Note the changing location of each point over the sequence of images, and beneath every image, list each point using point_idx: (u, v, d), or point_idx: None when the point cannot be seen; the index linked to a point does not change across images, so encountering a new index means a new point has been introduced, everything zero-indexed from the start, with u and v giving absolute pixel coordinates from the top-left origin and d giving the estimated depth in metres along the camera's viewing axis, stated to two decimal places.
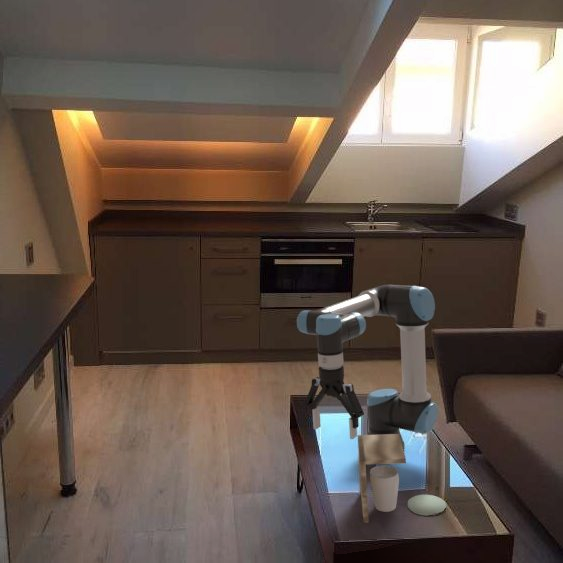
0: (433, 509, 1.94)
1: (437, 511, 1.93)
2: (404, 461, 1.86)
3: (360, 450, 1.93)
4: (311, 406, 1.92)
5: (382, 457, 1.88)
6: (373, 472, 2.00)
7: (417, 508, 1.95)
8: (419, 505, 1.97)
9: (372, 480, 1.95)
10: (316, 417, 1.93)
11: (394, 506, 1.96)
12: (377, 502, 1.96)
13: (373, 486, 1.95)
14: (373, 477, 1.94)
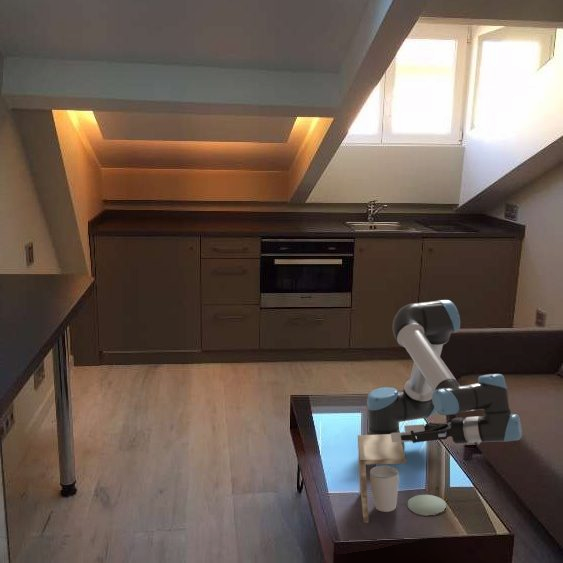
0: (433, 509, 1.94)
1: (437, 511, 1.93)
2: (404, 461, 1.86)
3: (360, 450, 1.93)
4: None
5: (382, 457, 1.88)
6: (373, 472, 2.00)
7: (417, 508, 1.95)
8: (419, 505, 1.97)
9: (372, 480, 1.95)
10: None
11: (394, 506, 1.96)
12: (377, 502, 1.96)
13: (373, 486, 1.95)
14: (373, 477, 1.94)
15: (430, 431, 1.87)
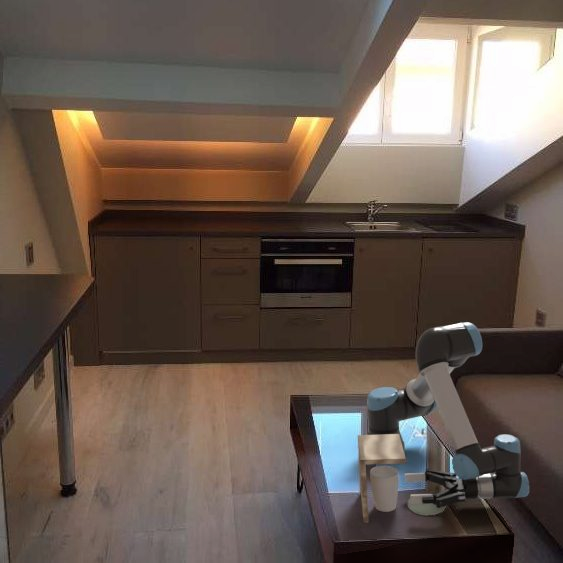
0: (433, 509, 1.94)
1: (437, 511, 1.93)
2: (404, 461, 1.86)
3: (360, 450, 1.93)
4: None
5: (382, 457, 1.88)
6: (373, 472, 2.00)
7: (417, 508, 1.95)
8: (419, 505, 1.97)
9: (372, 480, 1.95)
10: None
11: (394, 506, 1.96)
12: (377, 502, 1.96)
13: (373, 486, 1.95)
14: (373, 477, 1.94)
15: (448, 491, 1.91)
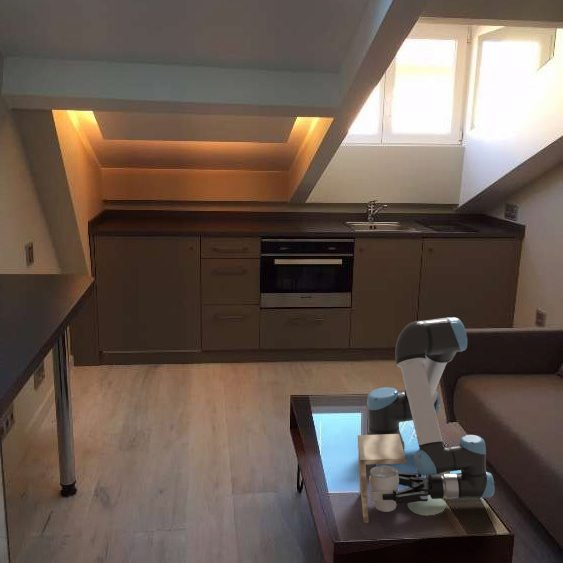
0: (433, 509, 1.94)
1: (437, 511, 1.93)
2: (404, 461, 1.86)
3: (360, 450, 1.93)
4: None
5: (382, 457, 1.88)
6: (373, 472, 2.00)
7: (417, 508, 1.95)
8: (419, 505, 1.97)
9: (372, 480, 1.95)
10: None
11: (394, 506, 1.96)
12: (377, 502, 1.96)
13: (373, 486, 1.95)
14: (373, 477, 1.94)
15: (410, 490, 1.93)
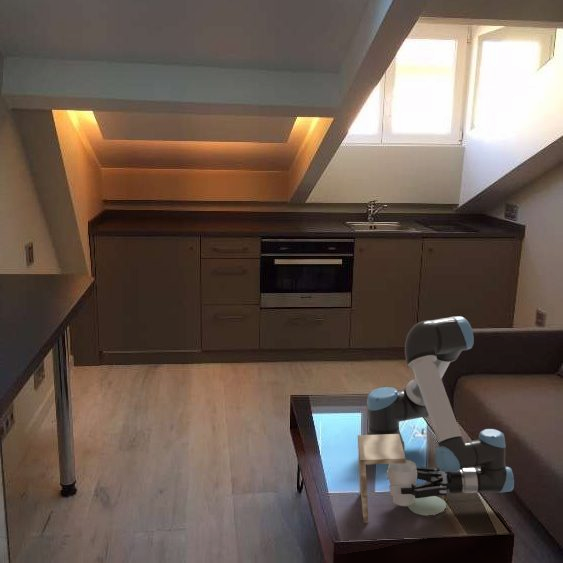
0: (433, 509, 1.94)
1: (437, 511, 1.93)
2: (404, 461, 1.86)
3: (360, 450, 1.93)
4: None
5: (382, 457, 1.88)
6: (391, 466, 1.99)
7: (417, 508, 1.95)
8: (419, 505, 1.97)
9: (390, 474, 1.94)
10: None
11: (412, 500, 1.94)
12: (395, 496, 1.94)
13: (391, 480, 1.94)
14: (391, 471, 1.93)
15: (429, 484, 1.91)
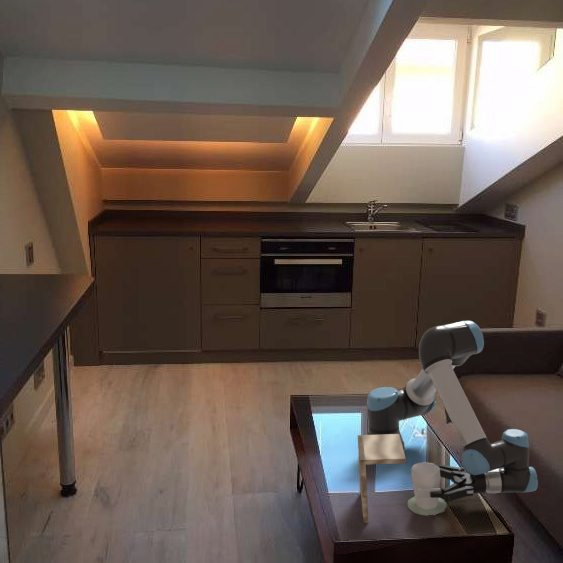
0: (433, 509, 1.94)
1: (437, 511, 1.93)
2: (404, 461, 1.86)
3: (360, 450, 1.93)
4: None
5: (382, 457, 1.88)
6: (414, 469, 1.99)
7: (417, 508, 1.95)
8: None
9: (414, 477, 1.94)
10: None
11: (436, 503, 1.95)
12: (419, 499, 1.94)
13: (415, 483, 1.94)
14: (415, 475, 1.93)
15: (456, 486, 1.90)
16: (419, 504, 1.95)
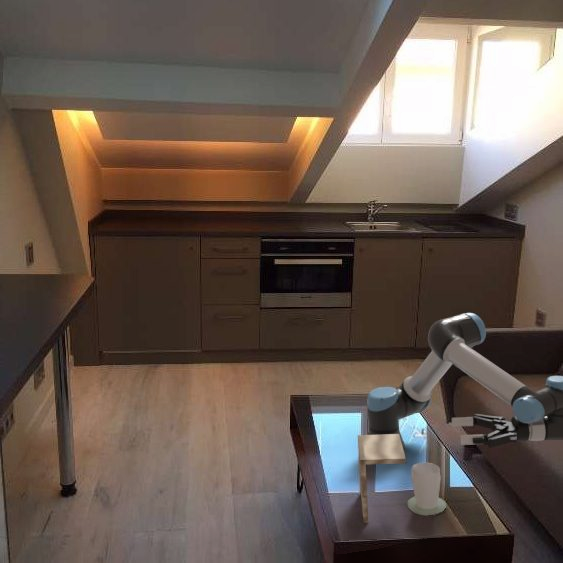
0: (433, 509, 1.94)
1: (437, 511, 1.93)
2: (404, 461, 1.86)
3: (360, 450, 1.93)
4: None
5: (382, 457, 1.88)
6: (414, 469, 1.99)
7: (417, 508, 1.95)
8: None
9: (414, 477, 1.94)
10: None
11: (436, 503, 1.95)
12: (419, 499, 1.94)
13: (415, 483, 1.94)
14: (415, 475, 1.93)
15: (498, 432, 1.87)
16: (419, 504, 1.95)
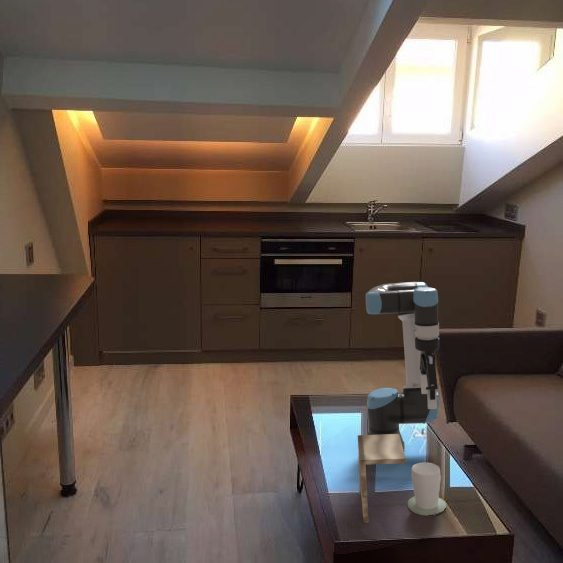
0: (433, 509, 1.94)
1: (437, 511, 1.93)
2: (404, 461, 1.86)
3: (360, 450, 1.93)
4: (420, 371, 2.06)
5: (382, 457, 1.88)
6: (414, 469, 1.99)
7: (417, 508, 1.95)
8: None
9: (414, 477, 1.94)
10: (423, 382, 2.06)
11: (436, 503, 1.95)
12: (419, 499, 1.94)
13: (415, 483, 1.94)
14: (415, 474, 1.93)
15: None
16: (419, 504, 1.95)
